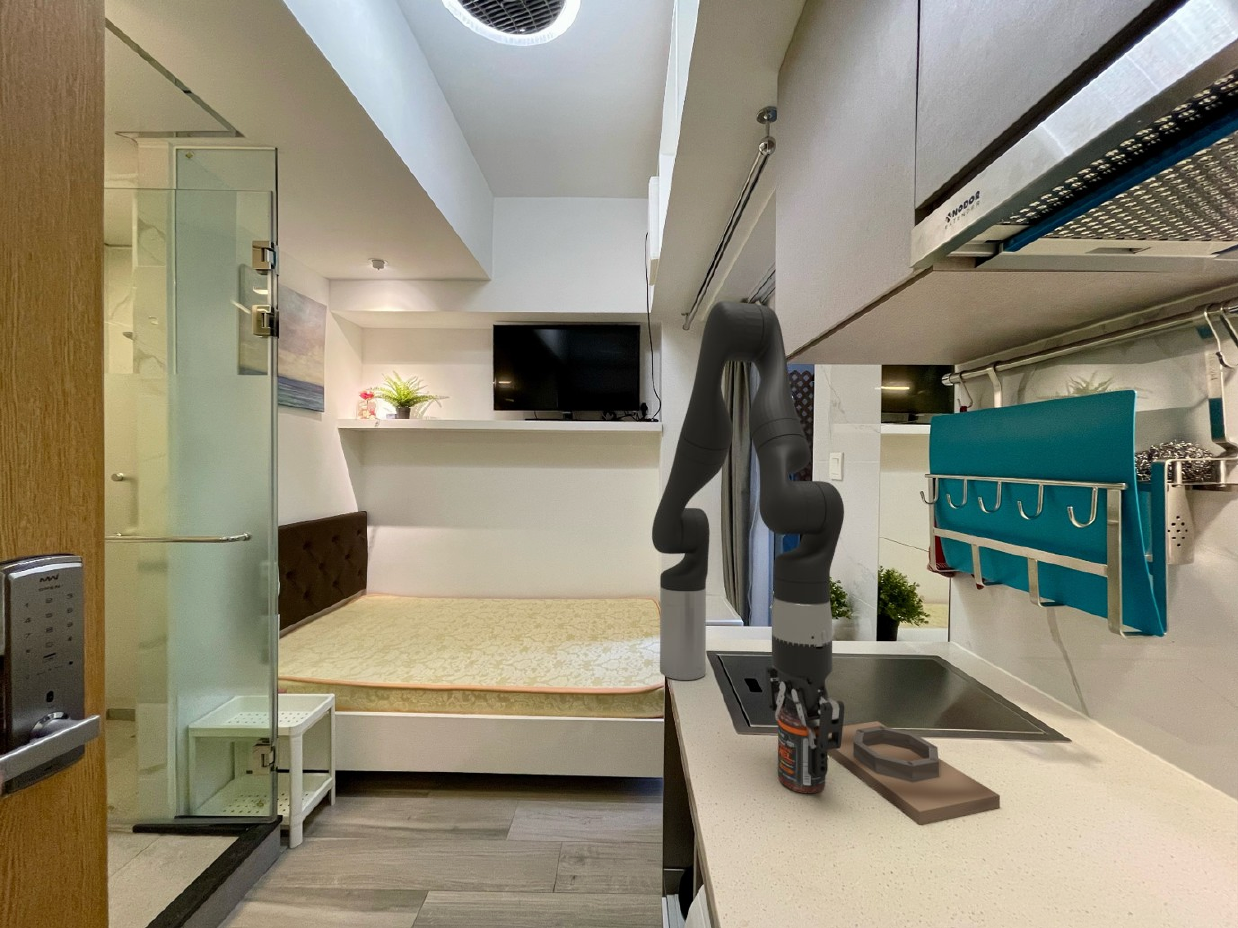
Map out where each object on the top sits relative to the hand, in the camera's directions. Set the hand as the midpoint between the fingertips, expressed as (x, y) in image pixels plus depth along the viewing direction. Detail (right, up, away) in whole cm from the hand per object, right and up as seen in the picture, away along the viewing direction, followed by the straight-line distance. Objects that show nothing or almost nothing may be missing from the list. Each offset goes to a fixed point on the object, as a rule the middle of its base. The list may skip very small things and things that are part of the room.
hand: (801, 761), depth 69 cm
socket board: (+14, -3, +3) cm, 14 cm away
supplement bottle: (0, -3, 0) cm, 3 cm away
